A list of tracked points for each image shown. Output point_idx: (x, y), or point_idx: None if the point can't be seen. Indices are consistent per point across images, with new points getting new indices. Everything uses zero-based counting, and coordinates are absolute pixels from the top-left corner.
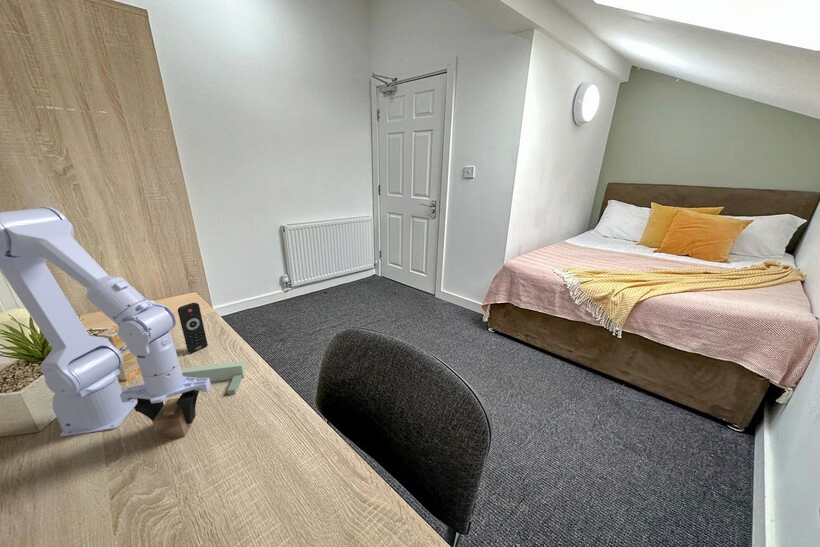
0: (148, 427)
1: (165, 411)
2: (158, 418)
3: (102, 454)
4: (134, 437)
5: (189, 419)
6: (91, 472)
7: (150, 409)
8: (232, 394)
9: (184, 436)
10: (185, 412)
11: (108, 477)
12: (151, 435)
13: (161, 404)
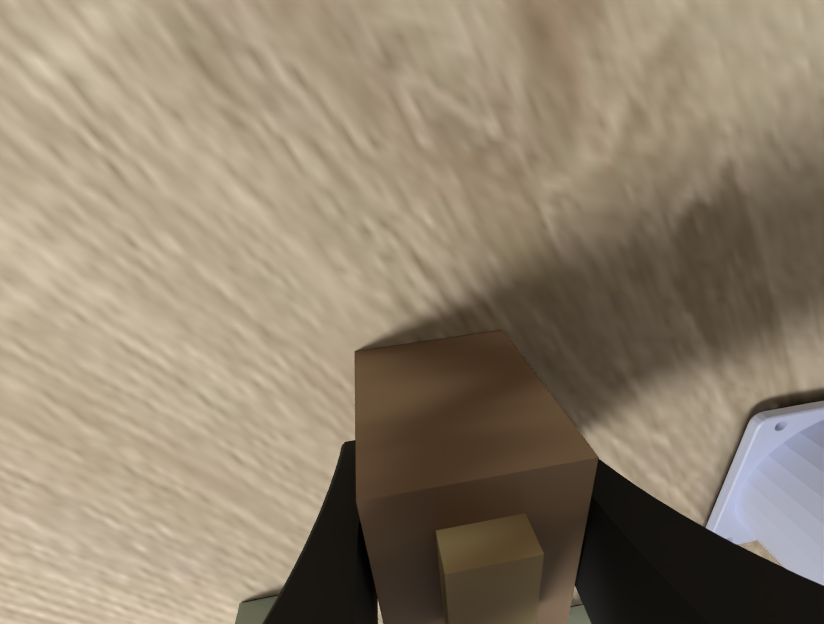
0: (601, 418)
1: (522, 565)
2: (558, 489)
3: (773, 262)
4: (648, 362)
5: (335, 473)
6: (802, 130)
7: (694, 619)
8: (254, 604)
9: (356, 355)
10: (335, 552)
11: (699, 64)
12: (564, 371)
13: (594, 605)
